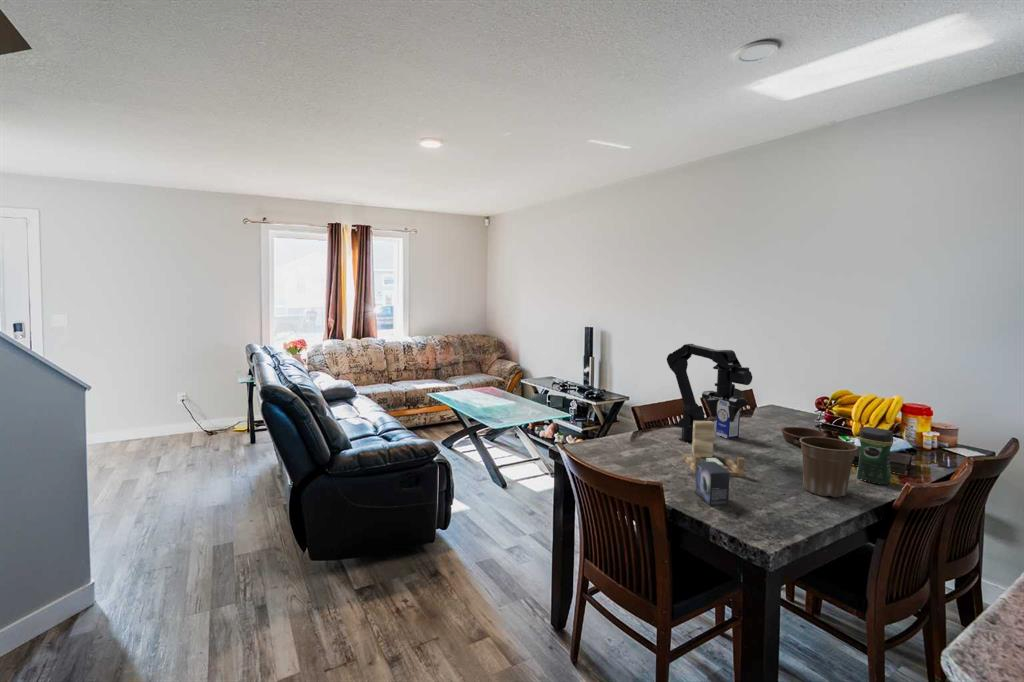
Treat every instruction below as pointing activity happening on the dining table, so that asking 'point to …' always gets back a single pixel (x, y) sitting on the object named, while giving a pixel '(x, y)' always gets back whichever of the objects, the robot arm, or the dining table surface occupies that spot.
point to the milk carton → (726, 421)
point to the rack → (737, 469)
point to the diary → (891, 461)
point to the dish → (799, 434)
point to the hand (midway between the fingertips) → (722, 419)
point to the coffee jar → (875, 455)
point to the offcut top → (714, 461)
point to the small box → (712, 483)
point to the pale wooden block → (703, 438)
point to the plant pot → (826, 465)
